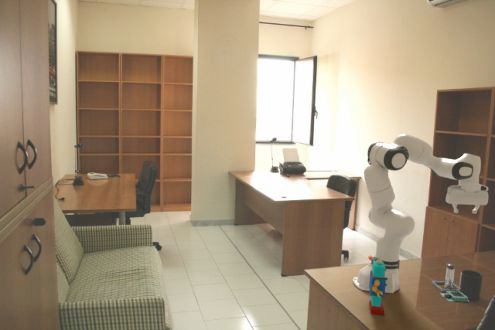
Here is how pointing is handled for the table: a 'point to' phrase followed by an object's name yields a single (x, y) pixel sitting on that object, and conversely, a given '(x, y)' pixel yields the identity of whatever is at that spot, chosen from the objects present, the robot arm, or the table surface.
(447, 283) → the salt shaker
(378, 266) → the toy robot
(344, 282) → the table surface
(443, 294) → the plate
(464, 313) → the table surface
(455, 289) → the grey square frame
